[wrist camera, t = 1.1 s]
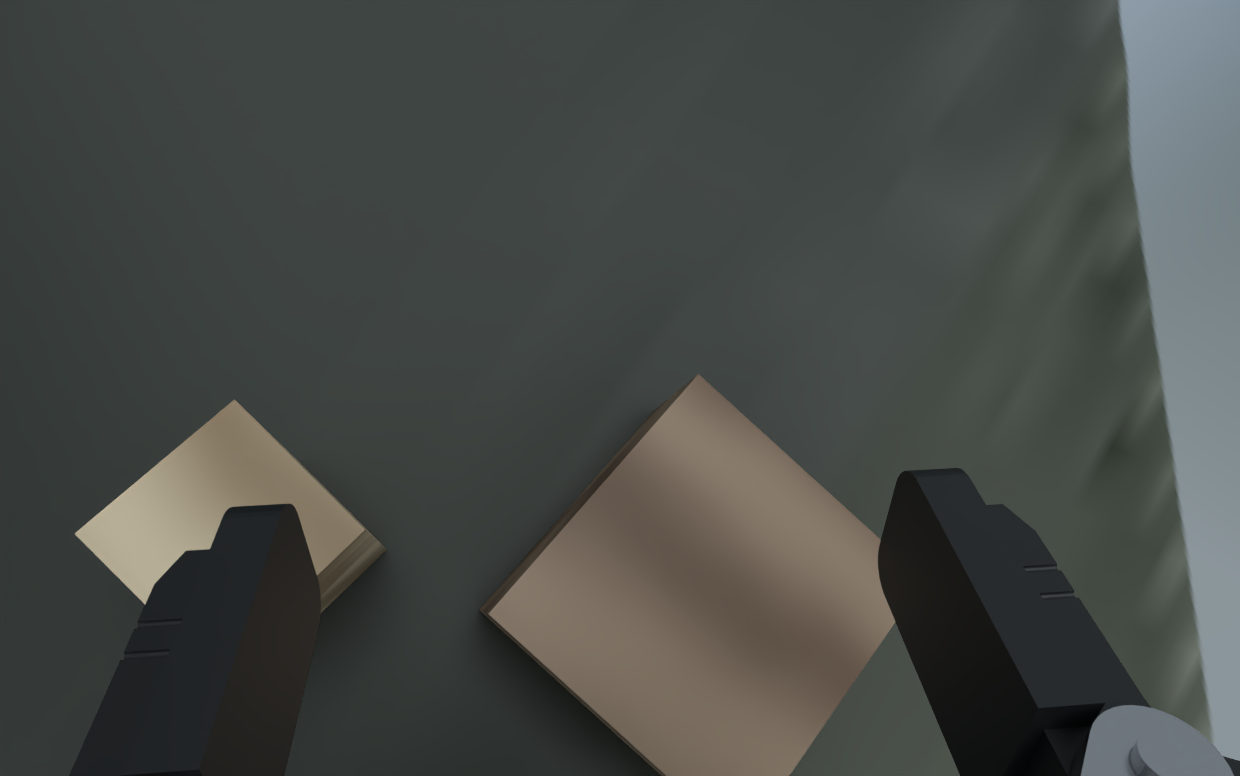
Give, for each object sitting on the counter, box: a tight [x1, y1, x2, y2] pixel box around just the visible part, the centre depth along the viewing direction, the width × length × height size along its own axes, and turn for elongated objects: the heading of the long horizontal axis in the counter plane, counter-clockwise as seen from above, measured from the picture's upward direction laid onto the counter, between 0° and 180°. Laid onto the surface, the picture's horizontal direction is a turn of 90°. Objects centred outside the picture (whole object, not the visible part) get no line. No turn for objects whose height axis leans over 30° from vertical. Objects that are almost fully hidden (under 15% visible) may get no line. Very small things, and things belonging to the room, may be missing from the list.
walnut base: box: [479, 374, 895, 776], centre depth 29 cm, size 10×10×6 cm
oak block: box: [75, 400, 387, 613], centre depth 25 cm, size 4×4×10 cm
